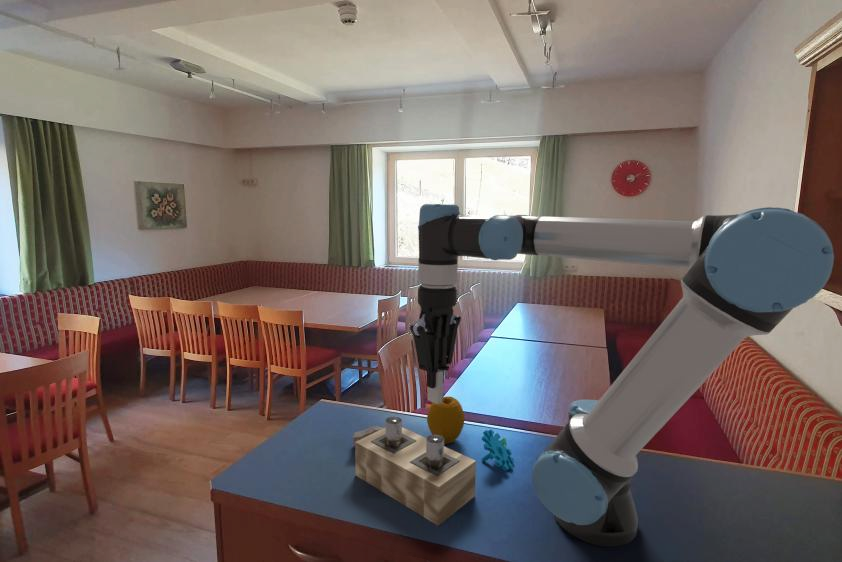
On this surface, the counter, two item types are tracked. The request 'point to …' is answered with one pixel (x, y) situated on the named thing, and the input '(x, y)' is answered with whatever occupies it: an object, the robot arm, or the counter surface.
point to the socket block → (416, 474)
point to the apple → (446, 419)
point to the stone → (364, 433)
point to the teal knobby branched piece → (497, 450)
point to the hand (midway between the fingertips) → (435, 400)
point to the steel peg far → (393, 431)
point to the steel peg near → (435, 451)
